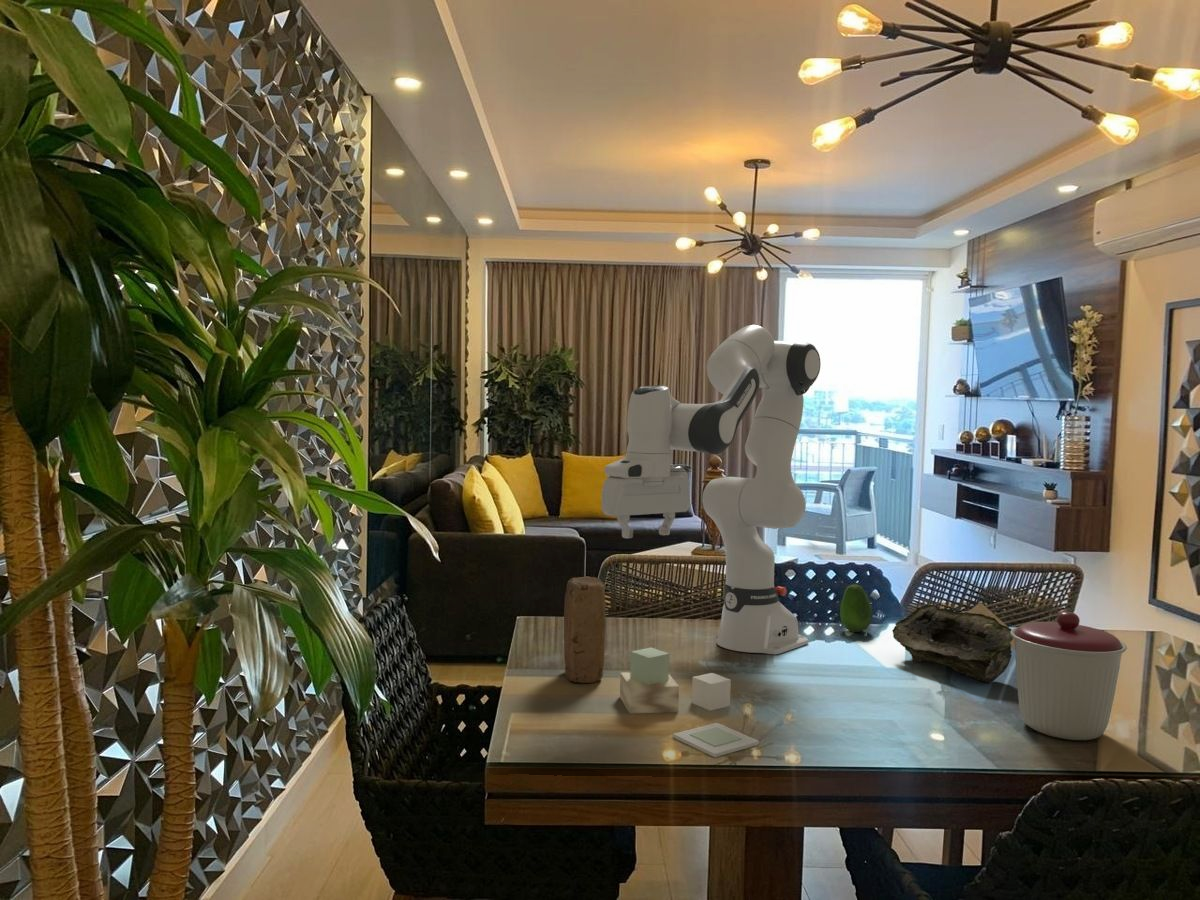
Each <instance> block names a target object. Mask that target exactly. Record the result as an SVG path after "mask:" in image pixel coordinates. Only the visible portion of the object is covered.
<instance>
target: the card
mask: <svg viewBox="0 0 1200 900" xmlns="http://www.w3.org/2000/svg"><path fill="white" fill-rule="evenodd" d="M672 738H673V739H675V740H677V741H680V742H681V743H684V744H686V745H688V746H690V747H692V748H694V749H697V750H698V751H700V752H702V753H705V754H706V755H709V756H711V757H713V758H717V757H721V756H724V755H728V754H731V753H734V752H735V753H736V752H738V751H742V750H744V749H749V748H753V747H755V746H758V745H760V740H758V739H755V738H753V737H751V736H749V735H746V734H744V733H741V732H740V731H737V730H735V729H732V728H730V727H728V726H726V725H723V724H722V723H718V722H715V723H710V724H706V725H702V726H698V727H694V728H690V729H687V730H682V731H679V732H675V733H673V734H672Z"/></svg>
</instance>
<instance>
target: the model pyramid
mask: <svg viewBox="0 0 1200 900" xmlns="http://www.w3.org/2000/svg"><path fill="white" fill-rule="evenodd" d="M966 613H976V614H983V615H985V616H990V617H992V618H995V619H996V620H997V621H998V622H999V623H1000V624H1001V625H1004V626H1007V627H1009V626H1008V625H1007V624H1006V623H1005V622H1004V621H1002V620H1001V619H1000V618H999V617H998V616H997V615H996V614H994V613H993V612H992V611H991V610H990V609H989V608H988V607H987V606H985V604H984V603H982V602H981V601H980V602H979V603H978V604H976V605H975V606H973V607H972V608H971V609H970V610H968V611H967V612H966ZM1010 644H1011V649H1013V648H1014V649H1015V642H1014V638H1013V640H1012V641H1011V642H1010Z"/></svg>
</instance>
